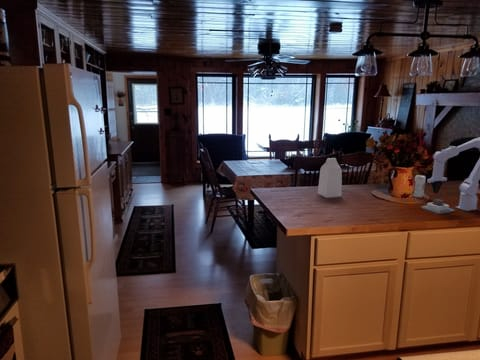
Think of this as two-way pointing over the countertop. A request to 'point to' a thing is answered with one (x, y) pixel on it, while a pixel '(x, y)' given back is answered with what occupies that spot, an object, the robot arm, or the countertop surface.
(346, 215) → the countertop surface
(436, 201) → the plug
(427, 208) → the socket plate
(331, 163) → the milk
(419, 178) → the syrup box
